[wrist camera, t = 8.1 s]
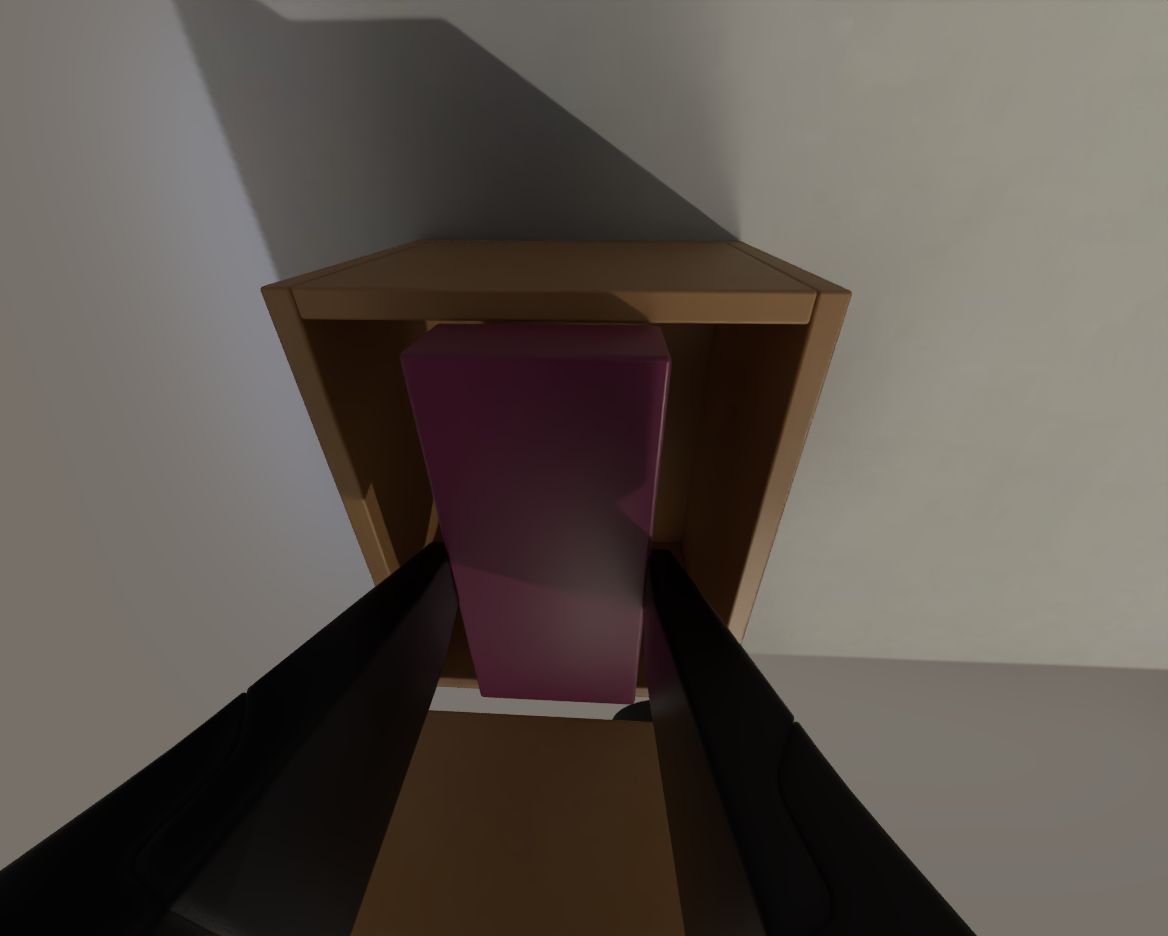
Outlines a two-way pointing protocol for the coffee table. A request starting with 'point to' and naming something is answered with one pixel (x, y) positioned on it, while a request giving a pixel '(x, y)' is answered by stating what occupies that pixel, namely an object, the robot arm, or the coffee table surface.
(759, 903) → the robot arm
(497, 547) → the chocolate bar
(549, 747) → the flap
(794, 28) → the coffee table surface
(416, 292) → the carton
